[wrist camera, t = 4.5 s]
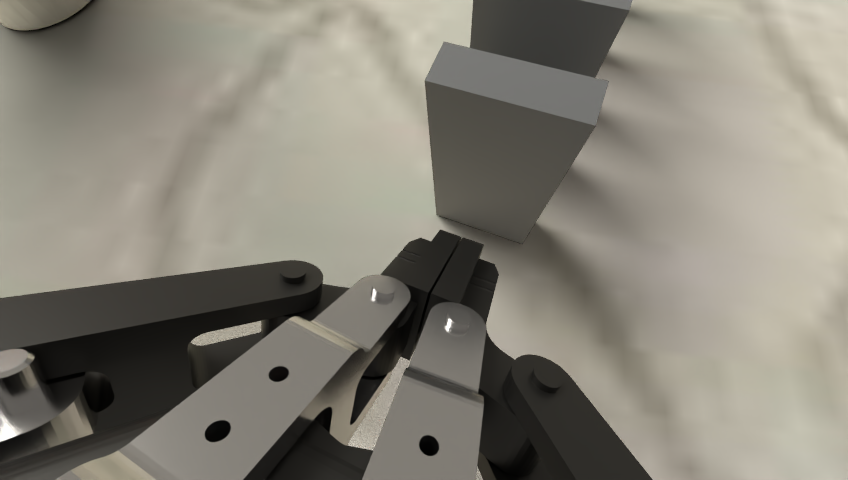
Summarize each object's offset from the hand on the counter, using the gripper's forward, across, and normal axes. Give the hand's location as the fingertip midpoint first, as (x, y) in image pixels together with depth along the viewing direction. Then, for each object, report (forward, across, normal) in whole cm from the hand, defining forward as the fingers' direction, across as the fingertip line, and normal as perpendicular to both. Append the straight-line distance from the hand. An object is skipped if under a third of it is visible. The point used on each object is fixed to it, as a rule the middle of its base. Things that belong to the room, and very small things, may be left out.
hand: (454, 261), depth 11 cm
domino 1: (+12, 0, -2) cm, 12 cm away
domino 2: (+8, 0, +2) cm, 9 cm away
